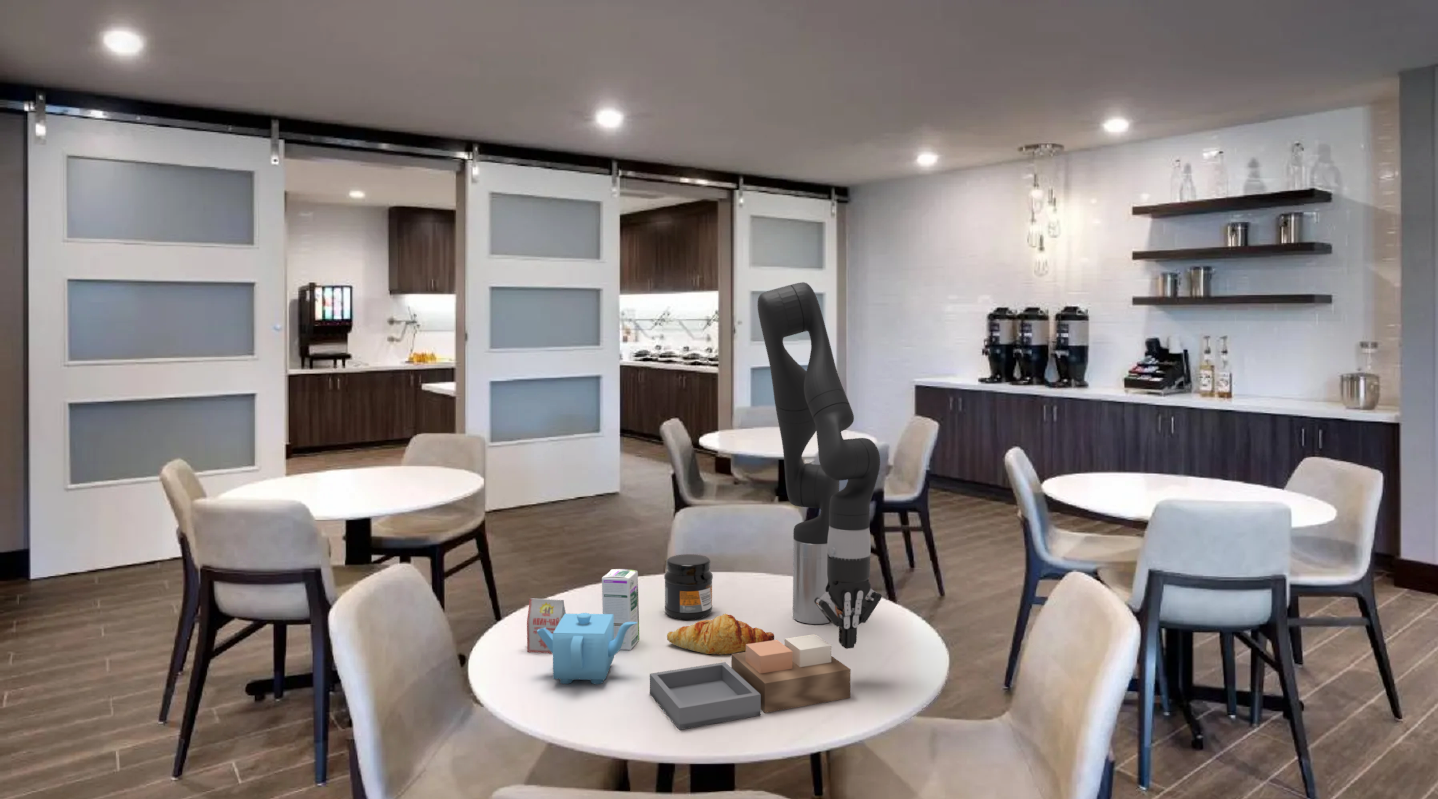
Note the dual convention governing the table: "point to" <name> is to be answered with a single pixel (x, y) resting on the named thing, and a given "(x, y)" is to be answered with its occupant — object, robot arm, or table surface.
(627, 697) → the table surface
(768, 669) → the terracotta tile
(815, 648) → the cream tile
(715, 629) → the croissant
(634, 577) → the syrup box
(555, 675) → the teapot
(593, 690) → the table surface
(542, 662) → the table surface
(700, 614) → the supplement container
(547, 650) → the tea bag
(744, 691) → the box
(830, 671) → the wood grain slab
